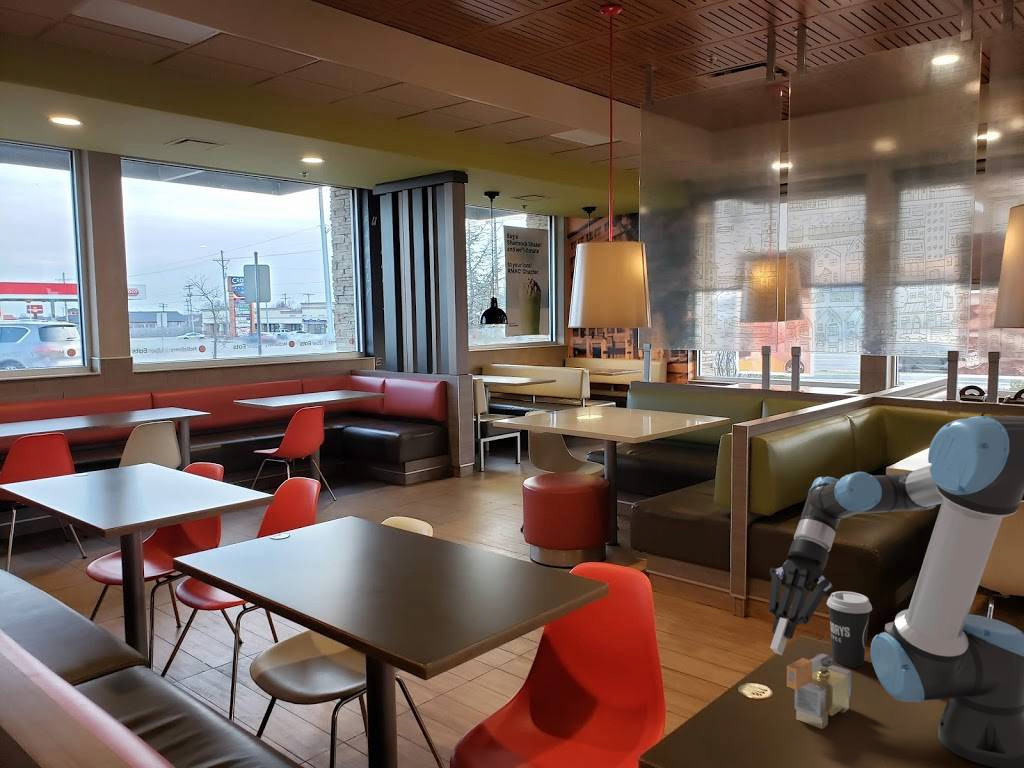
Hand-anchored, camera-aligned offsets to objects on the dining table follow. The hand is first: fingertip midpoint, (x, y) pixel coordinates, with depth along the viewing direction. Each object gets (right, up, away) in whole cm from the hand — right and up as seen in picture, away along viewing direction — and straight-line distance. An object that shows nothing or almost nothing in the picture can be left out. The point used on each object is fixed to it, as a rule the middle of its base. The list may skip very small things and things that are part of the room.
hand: (776, 651), depth 154 cm
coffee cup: (+25, -11, +25) cm, 37 cm away
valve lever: (+5, -4, -4) cm, 8 cm away
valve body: (+9, -12, 0) cm, 15 cm away
